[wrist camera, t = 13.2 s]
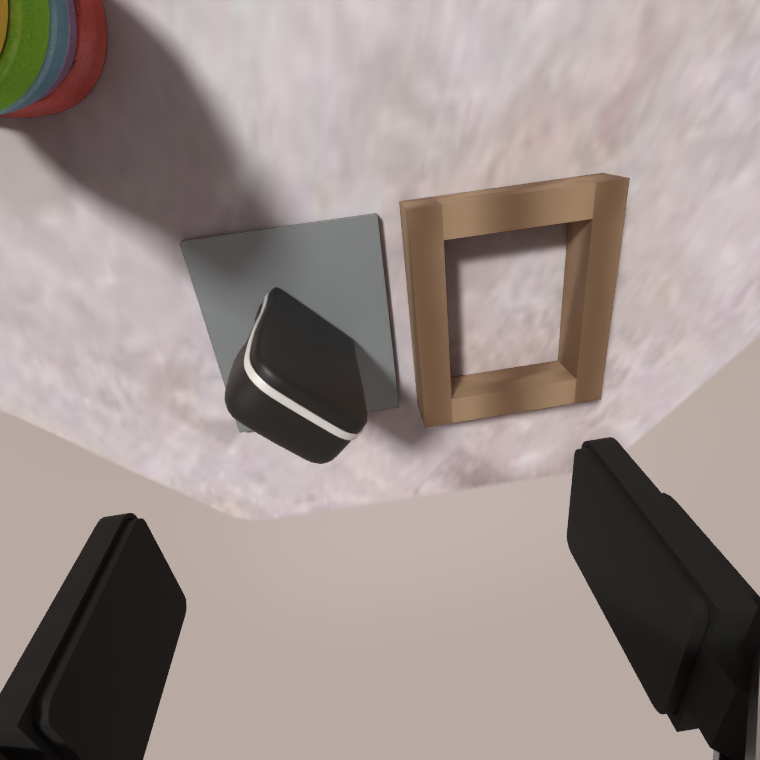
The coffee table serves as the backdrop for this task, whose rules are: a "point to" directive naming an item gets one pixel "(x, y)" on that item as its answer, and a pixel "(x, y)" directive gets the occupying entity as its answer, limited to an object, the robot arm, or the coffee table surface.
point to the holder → (579, 305)
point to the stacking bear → (49, 54)
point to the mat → (300, 290)
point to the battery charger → (297, 381)
